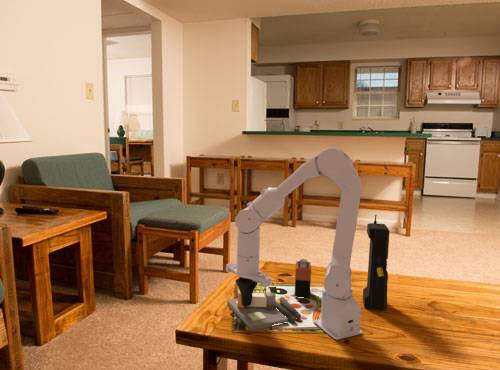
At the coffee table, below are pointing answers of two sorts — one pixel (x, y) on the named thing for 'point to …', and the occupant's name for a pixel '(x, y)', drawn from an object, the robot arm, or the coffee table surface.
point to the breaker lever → (260, 300)
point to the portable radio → (377, 267)
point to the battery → (303, 278)
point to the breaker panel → (257, 315)
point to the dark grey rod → (285, 312)
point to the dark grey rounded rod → (290, 308)
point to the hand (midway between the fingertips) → (246, 305)
